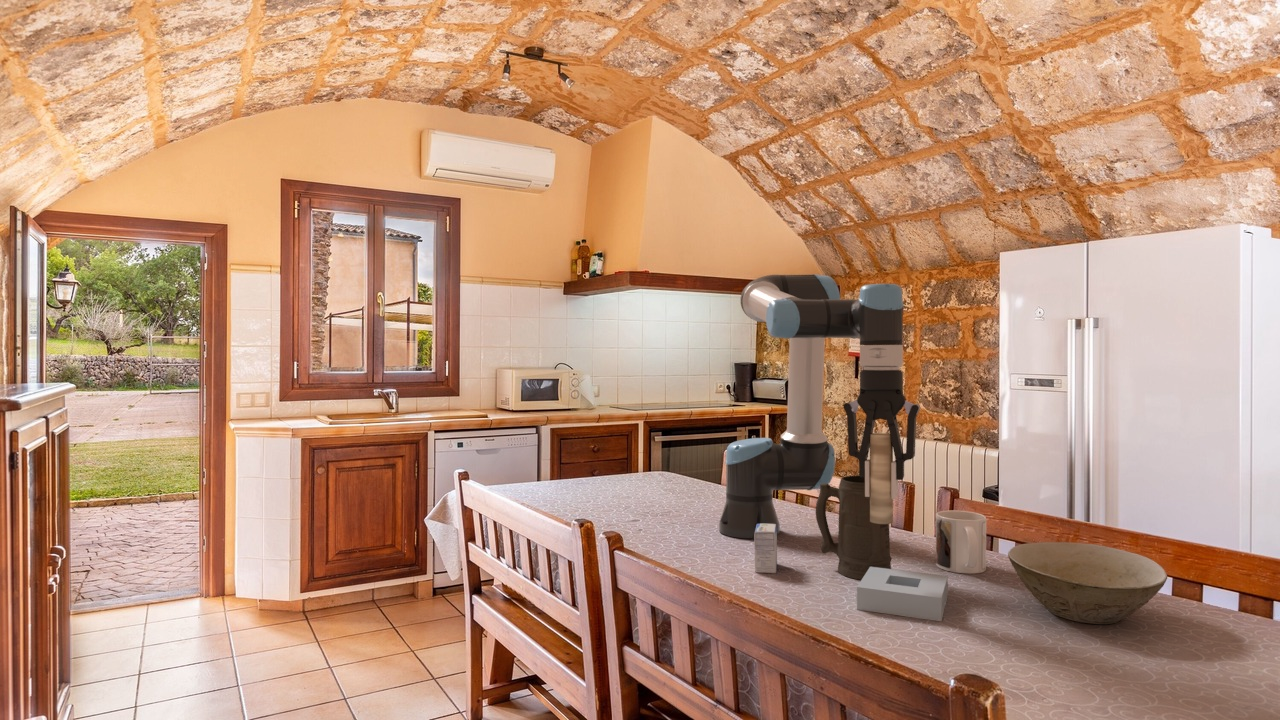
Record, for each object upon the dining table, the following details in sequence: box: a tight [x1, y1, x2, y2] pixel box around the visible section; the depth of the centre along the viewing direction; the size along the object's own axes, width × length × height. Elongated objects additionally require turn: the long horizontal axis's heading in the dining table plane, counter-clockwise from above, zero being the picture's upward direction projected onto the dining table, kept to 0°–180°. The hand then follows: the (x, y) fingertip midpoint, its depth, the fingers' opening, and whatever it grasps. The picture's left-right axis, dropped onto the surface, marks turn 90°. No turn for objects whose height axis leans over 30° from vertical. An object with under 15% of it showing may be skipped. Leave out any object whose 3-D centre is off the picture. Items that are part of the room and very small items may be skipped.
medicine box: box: [753, 524, 778, 574], centre depth 162 cm, size 8×4×9 cm, turn 168°
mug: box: [935, 509, 987, 575], centre depth 161 cm, size 10×12×11 cm
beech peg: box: [869, 432, 894, 525], centre depth 140 cm, size 4×4×16 cm
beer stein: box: [815, 474, 892, 581], centre depth 159 cm, size 15×11×20 cm
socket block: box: [856, 567, 949, 622], centre depth 139 cm, size 14×14×4 cm
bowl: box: [1007, 541, 1168, 625], centre depth 133 cm, size 24×24×10 cm
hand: (881, 496), depth 140 cm, fingers closed on beech peg, 4 cm apart
